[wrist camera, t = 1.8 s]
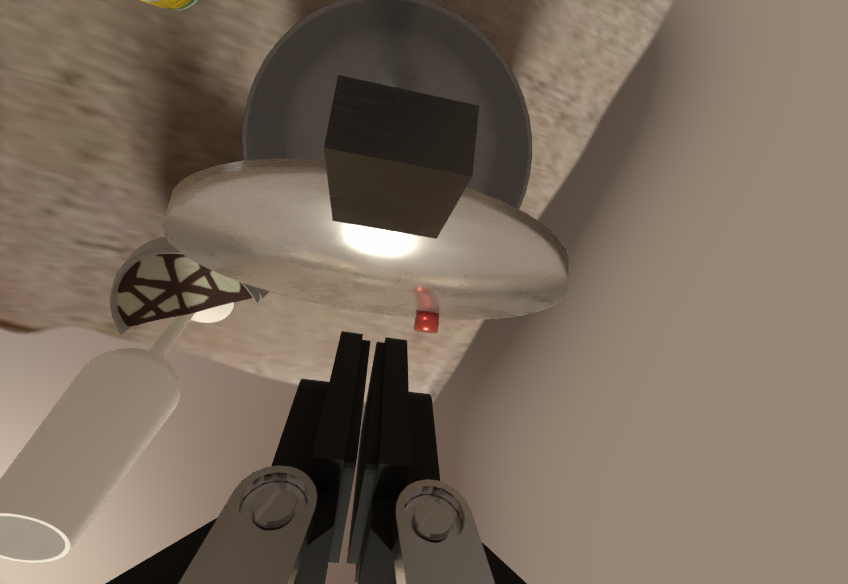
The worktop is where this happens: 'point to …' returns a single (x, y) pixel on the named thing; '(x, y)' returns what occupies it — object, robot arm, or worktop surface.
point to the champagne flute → (88, 445)
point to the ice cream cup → (169, 286)
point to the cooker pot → (390, 83)
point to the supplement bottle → (172, 3)
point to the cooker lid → (374, 218)
